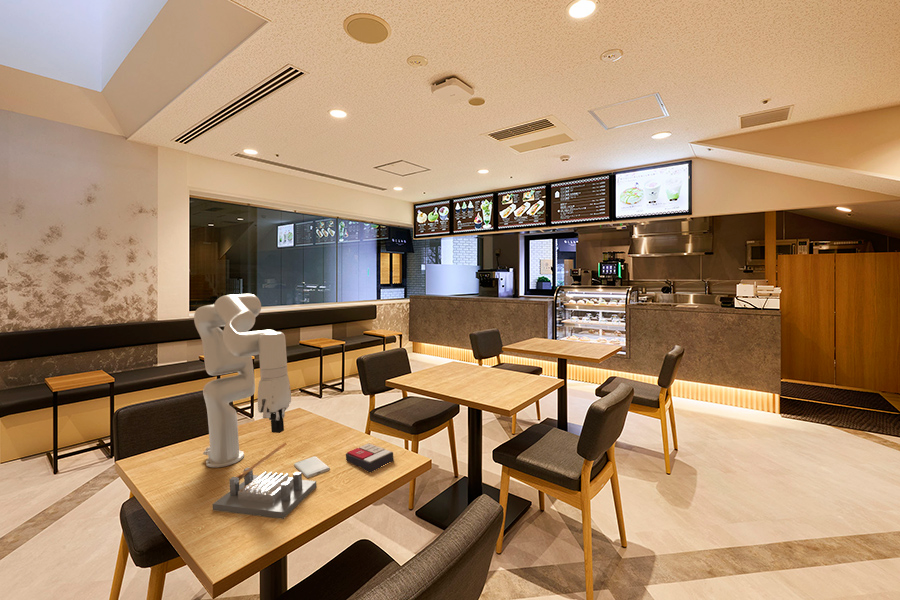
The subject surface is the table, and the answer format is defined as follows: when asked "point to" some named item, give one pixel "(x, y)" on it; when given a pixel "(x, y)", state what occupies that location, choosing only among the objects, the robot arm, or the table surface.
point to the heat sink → (266, 487)
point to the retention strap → (259, 462)
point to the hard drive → (311, 466)
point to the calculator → (369, 457)
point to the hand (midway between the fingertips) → (277, 431)
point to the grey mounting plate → (264, 508)
